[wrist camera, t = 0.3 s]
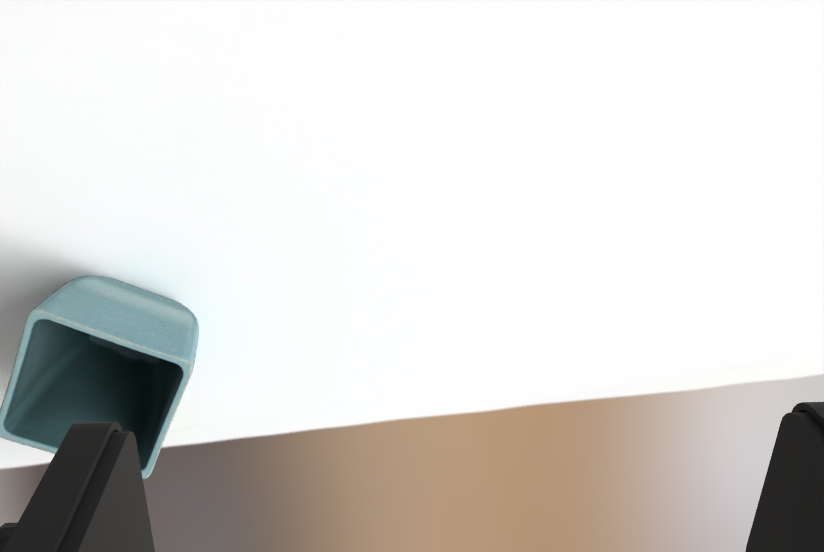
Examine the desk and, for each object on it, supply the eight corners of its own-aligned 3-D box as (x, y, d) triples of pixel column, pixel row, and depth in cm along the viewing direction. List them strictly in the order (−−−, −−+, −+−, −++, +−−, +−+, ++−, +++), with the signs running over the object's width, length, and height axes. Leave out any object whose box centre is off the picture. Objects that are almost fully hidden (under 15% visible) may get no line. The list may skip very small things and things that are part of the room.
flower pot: (48, 352, 50) (-10, 437, 42) (83, 239, 47) (28, 308, 39) (178, 394, 52) (147, 483, 44) (221, 289, 49) (195, 364, 41)
